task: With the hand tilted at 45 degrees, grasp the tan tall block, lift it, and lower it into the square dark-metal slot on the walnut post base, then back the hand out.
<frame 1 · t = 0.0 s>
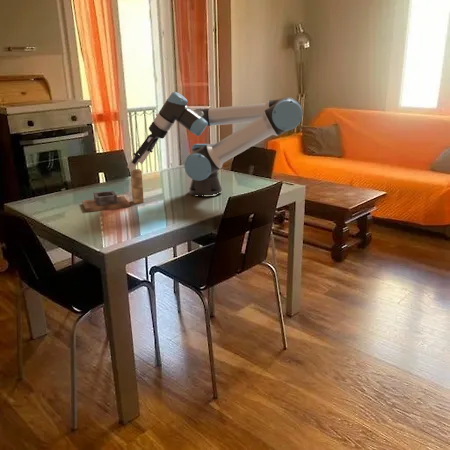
hand: (134, 165, 200), 15 cm above the table, tool tilted 35°, fingers open, 13 cm apart
post base: (105, 205, 195), on the table
tan tall block: (138, 201, 200), on the table
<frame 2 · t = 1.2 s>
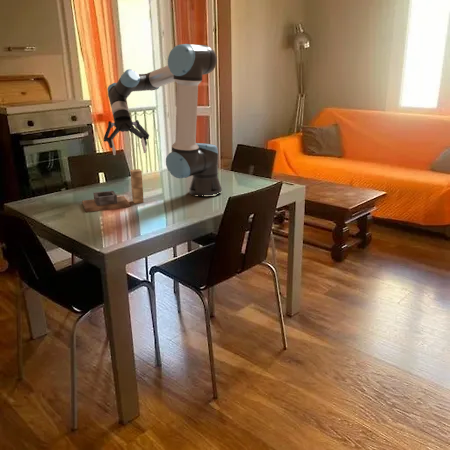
hand: (130, 152, 202), 20 cm above the table, tool tilted 45°, fingers open, 13 cm apart
nothing on the table moved.
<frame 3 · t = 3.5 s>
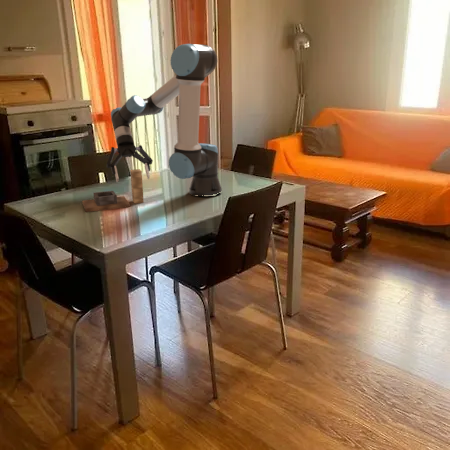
hand: (133, 178, 199), 10 cm above the table, tool tilted 45°, fingers open, 13 cm apart
nothing on the table moved.
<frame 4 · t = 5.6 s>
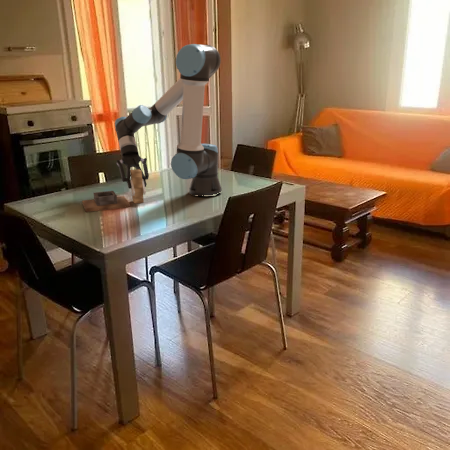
hand: (139, 193, 195), 5 cm above the table, tool tilted 45°, fingers closed on tan tall block, 4 cm apart
tan tall block: (138, 201, 200), on the table, touching gripper
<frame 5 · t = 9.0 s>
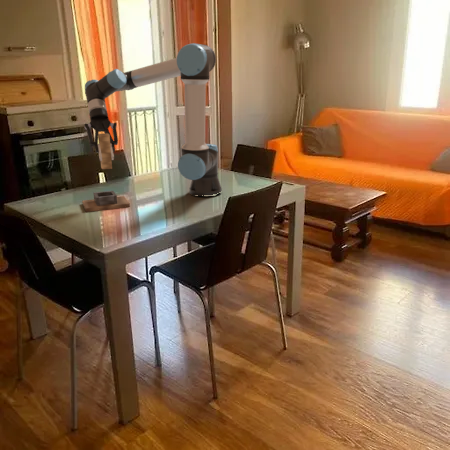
hand: (106, 158, 186), 21 cm above the table, tool tilted 45°, fingers closed on tan tall block, 4 cm apart
tan tall block: (106, 167, 191), point 16 cm above the table, touching gripper
when the fingers open (7 cm above the table, at t = 12.6 s): tan tall block stays where it is, resting on post base.
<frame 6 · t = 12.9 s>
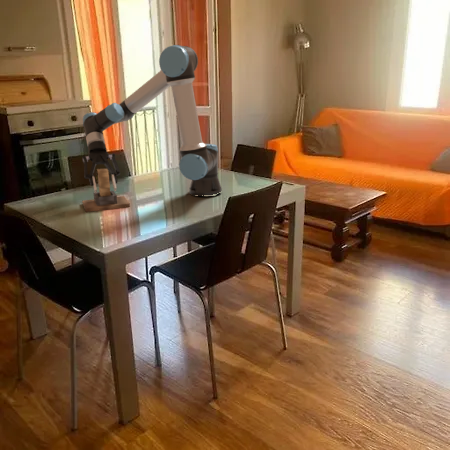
hand: (105, 190, 190), 8 cm above the table, tool tilted 45°, fingers open, 7 cm apart
tan tall block: (105, 202, 195), point 1 cm above the table, touching post base
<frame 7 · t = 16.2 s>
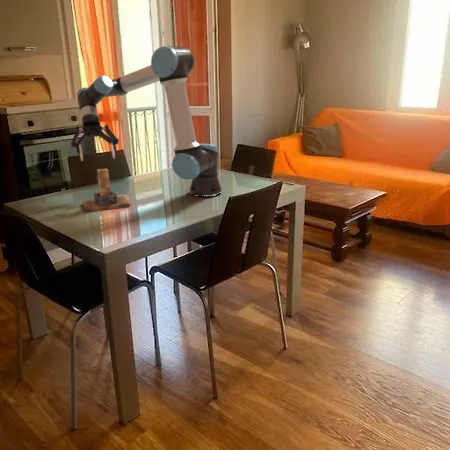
hand: (98, 158, 198), 19 cm above the table, tool tilted 45°, fingers open, 13 cm apart
nothing on the table moved.
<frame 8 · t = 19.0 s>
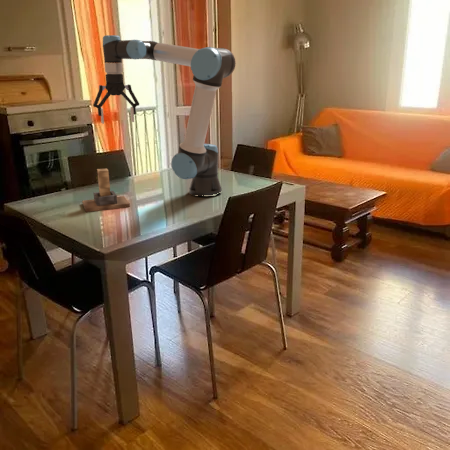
hand: (117, 122, 208), 32 cm above the table, tool pointing down, fingers open, 13 cm apart
nothing on the table moved.
at the end: tan tall block 0.1 cm off-centre on the post base, point 1.5 cm above the post base's base; tan tall block tilted 0°; the gripper is holding nothing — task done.
